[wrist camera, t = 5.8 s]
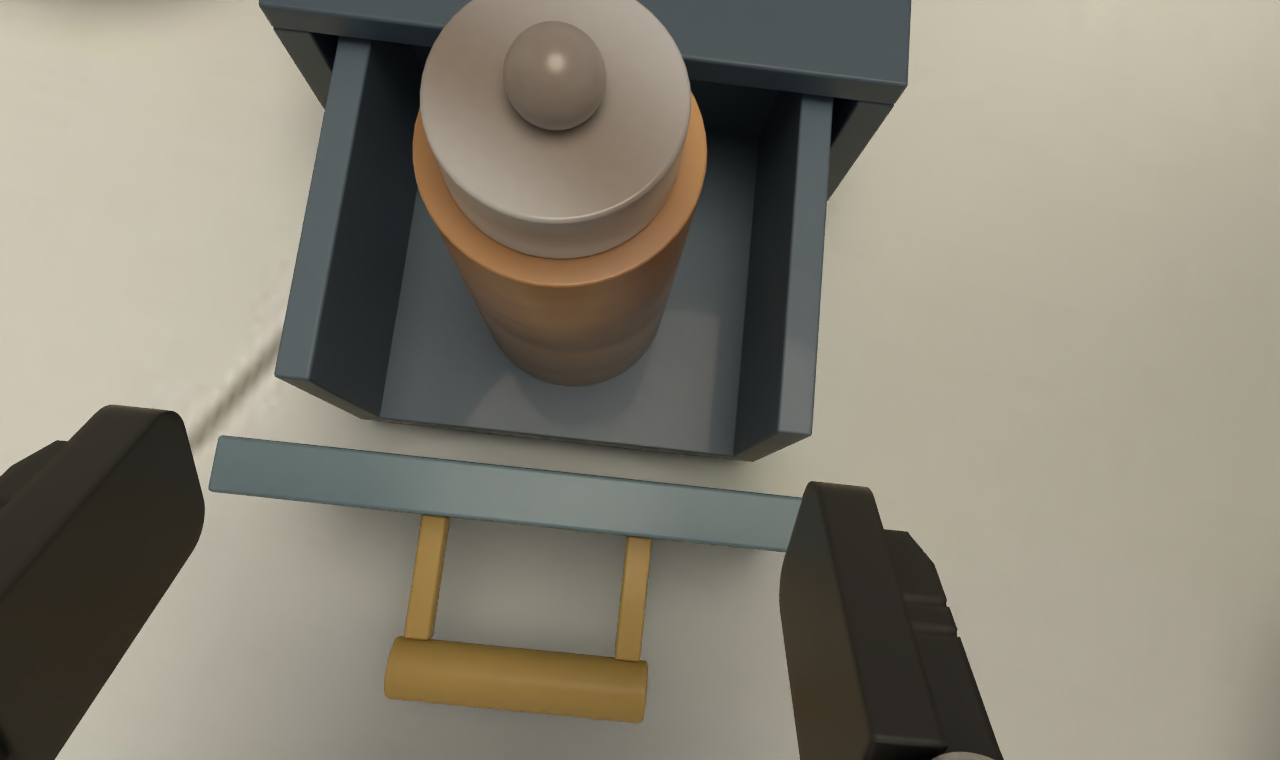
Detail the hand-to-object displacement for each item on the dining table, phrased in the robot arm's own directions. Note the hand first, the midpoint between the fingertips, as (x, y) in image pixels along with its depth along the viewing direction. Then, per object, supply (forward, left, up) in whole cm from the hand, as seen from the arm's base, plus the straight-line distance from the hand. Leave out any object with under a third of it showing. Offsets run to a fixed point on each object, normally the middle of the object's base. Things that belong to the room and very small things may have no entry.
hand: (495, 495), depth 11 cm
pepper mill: (-5, -3, -13) cm, 15 cm away
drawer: (-4, -2, -14) cm, 15 cm away
